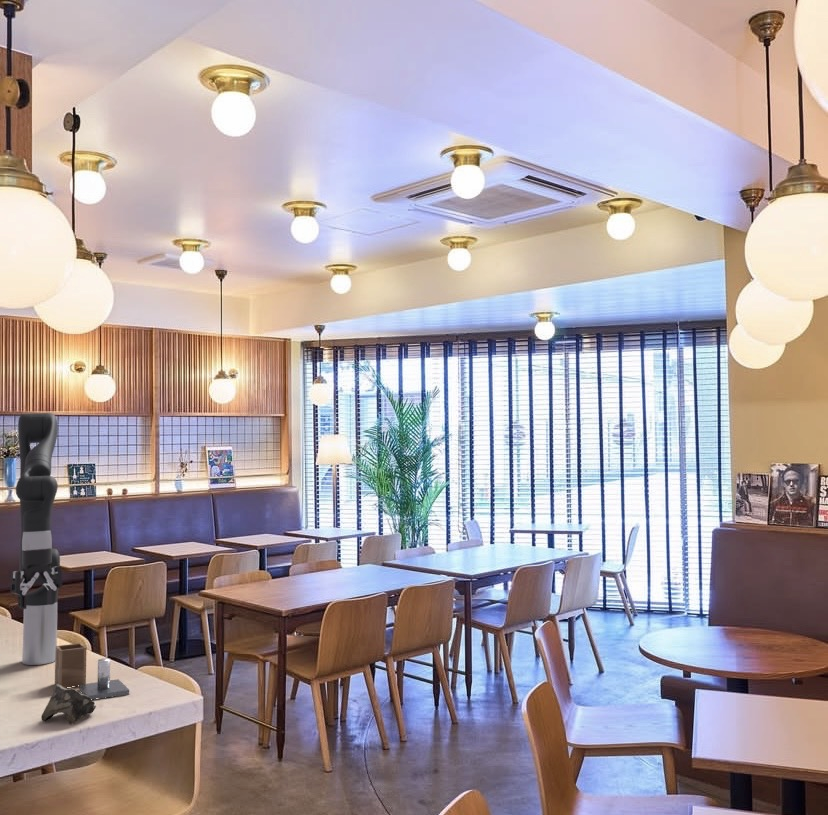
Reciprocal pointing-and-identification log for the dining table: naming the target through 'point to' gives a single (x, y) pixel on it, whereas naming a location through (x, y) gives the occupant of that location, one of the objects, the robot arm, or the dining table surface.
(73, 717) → the fossil
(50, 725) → the dining table surface
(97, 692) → the post plate
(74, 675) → the walnut sleeve
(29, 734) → the dining table surface
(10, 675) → the dining table surface
